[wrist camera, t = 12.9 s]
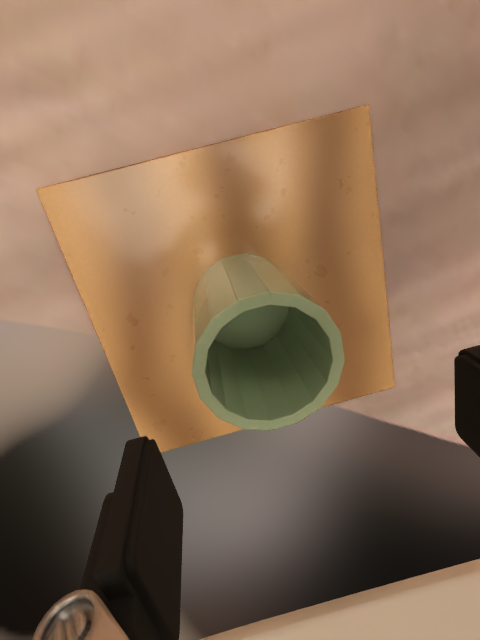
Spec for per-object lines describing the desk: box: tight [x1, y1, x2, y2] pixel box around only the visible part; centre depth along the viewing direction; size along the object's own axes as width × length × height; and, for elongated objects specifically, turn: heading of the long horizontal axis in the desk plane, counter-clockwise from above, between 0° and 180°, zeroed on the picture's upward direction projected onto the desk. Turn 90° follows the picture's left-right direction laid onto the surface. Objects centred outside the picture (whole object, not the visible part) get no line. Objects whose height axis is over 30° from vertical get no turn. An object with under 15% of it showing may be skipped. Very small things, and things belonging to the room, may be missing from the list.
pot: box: [191, 254, 345, 431], centre depth 21 cm, size 7×7×9 cm
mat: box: [36, 105, 395, 453], centre depth 26 cm, size 20×20×1 cm
